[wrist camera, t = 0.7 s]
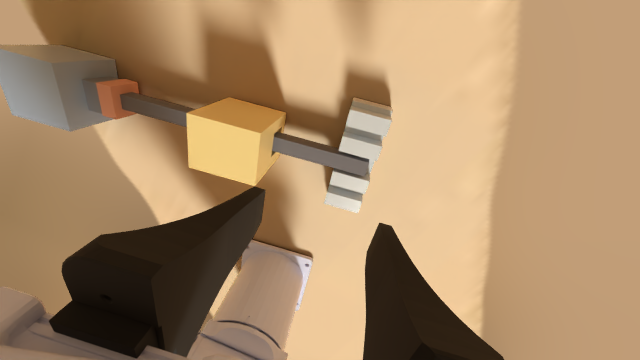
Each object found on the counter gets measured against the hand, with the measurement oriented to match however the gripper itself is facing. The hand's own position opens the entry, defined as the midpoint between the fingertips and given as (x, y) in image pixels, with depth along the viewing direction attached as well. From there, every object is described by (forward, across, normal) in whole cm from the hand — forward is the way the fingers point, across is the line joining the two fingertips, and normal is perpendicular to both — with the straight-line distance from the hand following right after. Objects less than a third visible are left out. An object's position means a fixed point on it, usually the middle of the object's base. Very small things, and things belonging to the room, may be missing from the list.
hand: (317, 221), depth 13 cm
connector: (+10, +23, 0) cm, 25 cm away
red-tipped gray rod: (+10, +9, 0) cm, 13 cm away
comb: (+10, -2, 0) cm, 11 cm away
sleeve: (+10, +8, 0) cm, 13 cm away
